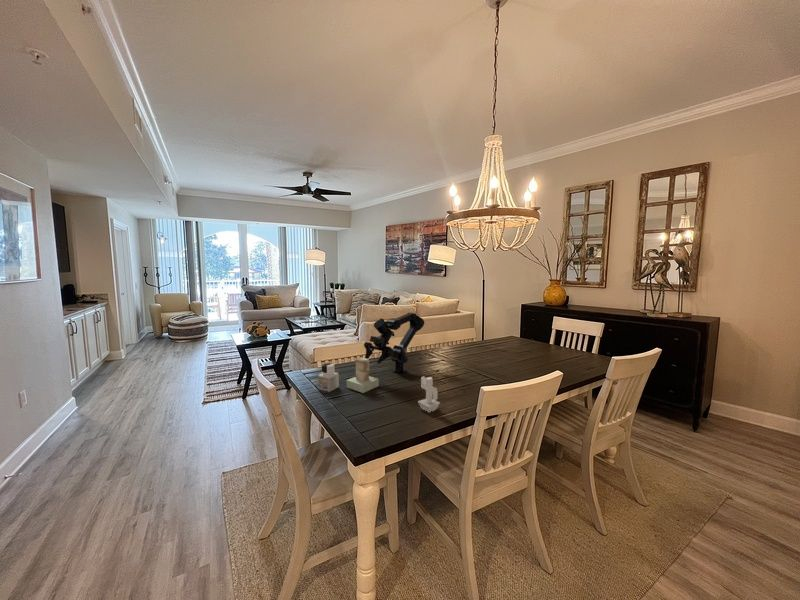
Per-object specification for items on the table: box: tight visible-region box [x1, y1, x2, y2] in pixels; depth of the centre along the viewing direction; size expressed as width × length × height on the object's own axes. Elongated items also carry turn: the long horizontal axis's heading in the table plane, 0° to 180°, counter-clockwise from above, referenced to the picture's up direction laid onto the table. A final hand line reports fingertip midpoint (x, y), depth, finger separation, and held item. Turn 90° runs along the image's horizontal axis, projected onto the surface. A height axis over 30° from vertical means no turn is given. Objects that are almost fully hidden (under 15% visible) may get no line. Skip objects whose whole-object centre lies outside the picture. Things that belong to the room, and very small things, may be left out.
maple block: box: [355, 357, 370, 382], centre depth 176 cm, size 5×5×11 cm
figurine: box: [417, 376, 441, 414], centre depth 150 cm, size 7×9×15 cm
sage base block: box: [346, 375, 380, 394], centre depth 177 cm, size 12×12×4 cm
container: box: [317, 362, 340, 393], centre depth 175 cm, size 8×8×13 cm
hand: (371, 361), depth 182 cm, fingers open, 9 cm apart
